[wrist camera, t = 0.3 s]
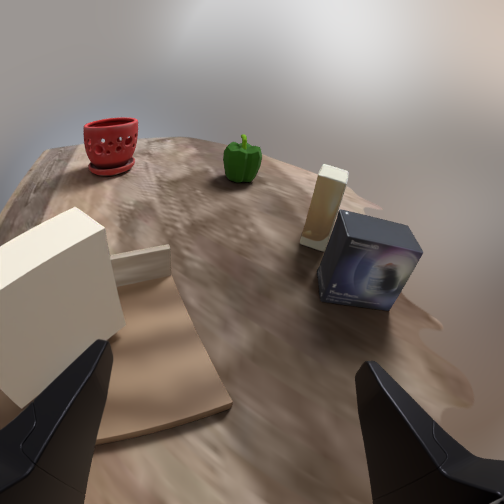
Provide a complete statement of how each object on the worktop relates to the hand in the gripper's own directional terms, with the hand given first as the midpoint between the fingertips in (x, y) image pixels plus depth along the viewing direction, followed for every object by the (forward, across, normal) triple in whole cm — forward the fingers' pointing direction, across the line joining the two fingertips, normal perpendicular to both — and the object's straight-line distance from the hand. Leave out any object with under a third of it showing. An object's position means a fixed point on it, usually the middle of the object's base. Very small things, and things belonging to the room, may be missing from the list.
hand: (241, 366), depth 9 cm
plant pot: (+58, +29, +12) cm, 66 cm away
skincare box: (+35, -15, +13) cm, 40 cm away
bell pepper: (+57, -2, +11) cm, 58 cm away
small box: (+23, -18, +14) cm, 33 cm away
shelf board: (+9, +15, +16) cm, 24 cm away
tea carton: (+8, +15, +15) cm, 23 cm away
